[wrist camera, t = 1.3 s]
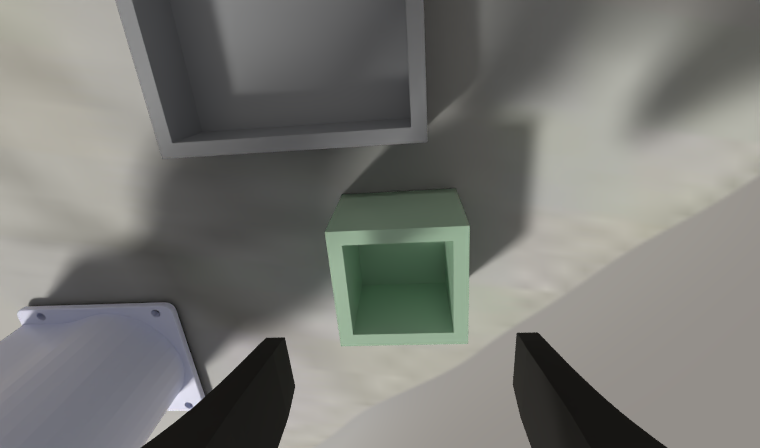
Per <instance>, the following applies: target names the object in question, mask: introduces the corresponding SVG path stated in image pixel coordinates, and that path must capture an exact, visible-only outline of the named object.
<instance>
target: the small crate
mask: <svg viewBox="0 0 760 448" xmlns="http://www.w3.org/2000/svg"><path fill="white" fill-rule="evenodd" d="M325 238H326V245H327V252H328V259H329V266H330V273H331V280H332V287H333V294H334V301H335V308H336V315H337V322H338V329H339V336H340V343H341V346H378V345H430V344H468V310H469V243H470V225H469V222H468V220H467V217H466V215H465V212H464V209H463V207H462V204H461V201H460V199H459V196H458V193H457V191H456V188H454V189H435V190H416V191H397V192H378V193H359V194H342V196H341V198H340V200H339V202H338V204H337V207H336V209H335V211H334V213H333V215H332V217H331V220H330V222H329V224H328V226H327V228H326V230H325Z"/></svg>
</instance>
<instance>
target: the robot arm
mask: <svg viewBox="0 0 760 448" xmlns="http://www.w3.org/2000/svg"><path fill="white" fill-rule="evenodd" d="M156 310H157V311H159V312H160V313H158V312H157V311H156ZM17 315H18V318H19V320H20V322H21V324H22V326H21V327H20V328H18V329H17V330H15V331H14V332H13V333H11V334H10V335H8V336H7V337H5V338H4V339H3V340H1V341H0V448H278V446H279V443H280V440H281V437H282V434H283V431H284V428H285V426H286V423H287V420H288V416H289V412H290V408H291V403H292V399H293V394H294V389H295V384H294V379H293V374H292V369H291V365H290V360H289V355H288V350H287V346H286V341H285V338H266V339H265V340H264V341H262V342H261V343H260V344H259V345H258V346H257V347H256V348H255V349H254V350H253V351H252V352H251V353H250V354H249V355H248V356H247V357H246V358H245V359H244V360H243V361H242V362H241V363H240V364H239V365H238V366H237V367H236V368H235V369H234V370H233V371H232V372H231V373H230V374H229V375H228V376H227V377H226V378H225V379H224V380H223V381H222V382H221V383H220V384H219V385H218V386H216V387H215V388H214V389H213V390H212V391H211V392H210V393H209V394H207V395H206V396H205V395H204V392H203V389H202V386H201V383H200V380H199V377H198V374H197V371H196V368H195V365H194V362H193V359H192V356H191V353H190V350H189V347H188V344H187V341H186V338H185V335H184V332H183V329H182V326H181V323H180V320H179V317H178V314H177V311H176V309H175V307H174V306H173V305H172V304H170V303H167V302H158V303H125V304H92V305H59V306H27V307H24V308H22V309H21V310H19V311H18V313H17ZM513 387H514V391H515V395H516V400H517V404H518V408H519V412H520V416H521V420H522V423H523V425H524V428H525V431H526V433H527V436H528V439H529V442H530V445H531V448H667V447H666V446H664V445H663V444H661V443H660V442H659V441H657V440H656V439H655V438H653V437H652V436H651V435H649V434H648V433H647V432H645V431H644V430H643V429H641V428H640V427H639V426H637V425H636V424H635V423H634V422H632V421H631V420H629V418H627V417H626V416H625V415H624V414H622V413H621V412H620V411H619V410H618V409H616V408H615V407H614V406H613V405H612V404H611V403H609V402H608V401H607V400H606V399H605V398H604V397H603V396H602V395H600V394H599V393H598V392H597V391H596V390H595V389H594V388H593V387H592V386H591V385H589V383H588V382H586V381H585V380H584V379H583V378H582V377H581V376H580V375H579V374H578V373H577V372H576V371H575V370H574V369H573V368H572V367H571V366H570V365H569V364H568V363H567V362H566V361H565V360H564V359H563V358H562V357H561V356H560V355H559V354H558V353H557V352H556V351H555V350H554V349H553V348H552V347H551V346H550V345H549V344H548V342H546V341H545V339H544V338H543V337H542V336H541V335H540V334H539V333H517V337H516V351H515V363H514V376H513ZM166 411H188V412H187V413H186V414H185V415H183V416H182V417H181V418H180V419H178V420H177V421H176V422H175V423H173V424H172V425H171V426H169V427H168V428H167V429H166V430H164V431H163V432H162V433H160V434H159V435H158V436H156V437H155V438H154V439H152V440H151V441H149V442H148V443H146V444H145V442H146V441H147V439H148V438H149V436H150V435H151V433H152V432H153V430H154V429H155V427H156V426H157V424H158V423H159V421H160V420H161V418H162V417H163V415H164V414H165V412H166ZM144 444H145V445H144ZM143 445H144V446H143Z"/></svg>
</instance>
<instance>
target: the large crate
mask: <svg viewBox="0 0 760 448" xmlns="http://www.w3.org/2000/svg"><path fill="white" fill-rule="evenodd" d="M115 1H116V5H117V8H118V11H119V15H120V18H121V22H122V25H123V28H124V32H125V35H126V38H127V42H128V45H129V49H130V52H131V55H132V59H133V62H134V65H135V69H136V72H137V75H138V79H139V82H140V86H141V89H142V92H143V96H144V99H145V102H146V106H147V109H148V113H149V116H150V119H151V123H152V126H153V129H154V133H155V136H156V140H157V143H158V146H159V150H160V153H161V156H162V159H171V158H186V157H202V156H218V155H234V154H250V153H266V152H281V151H297V150H313V149H329V148H345V147H361V146H376V145H392V144H408V143H424V142H428V134H427V99H426V63H425V27H424V0H115Z"/></svg>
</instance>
